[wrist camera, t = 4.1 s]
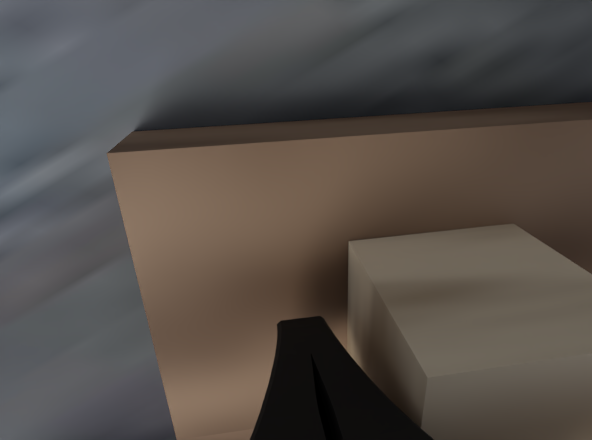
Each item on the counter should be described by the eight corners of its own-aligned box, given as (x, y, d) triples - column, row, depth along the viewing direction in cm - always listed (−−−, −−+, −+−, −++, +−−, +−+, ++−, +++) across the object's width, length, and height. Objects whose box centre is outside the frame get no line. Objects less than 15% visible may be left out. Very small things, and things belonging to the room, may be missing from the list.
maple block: (486, 353, 14) (610, 505, 9) (346, 373, 13) (405, 546, 9) (513, 223, 12) (690, 338, 7) (348, 240, 11) (427, 377, 7)
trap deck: (734, 395, 21) (794, 437, 19) (205, 478, 18) (201, 540, 16) (920, 80, 14) (1046, 87, 12) (132, 131, 12) (106, 153, 9)
